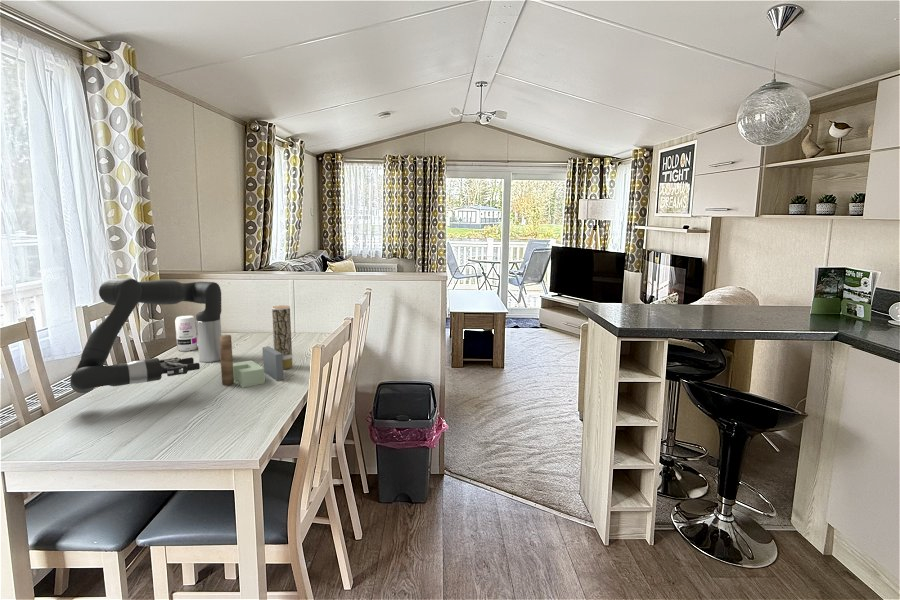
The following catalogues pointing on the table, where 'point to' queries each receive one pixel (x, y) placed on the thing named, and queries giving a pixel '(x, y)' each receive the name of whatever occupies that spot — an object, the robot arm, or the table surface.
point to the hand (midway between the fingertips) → (196, 363)
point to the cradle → (248, 373)
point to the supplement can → (186, 333)
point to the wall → (273, 363)
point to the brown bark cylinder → (282, 333)
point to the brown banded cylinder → (226, 360)
